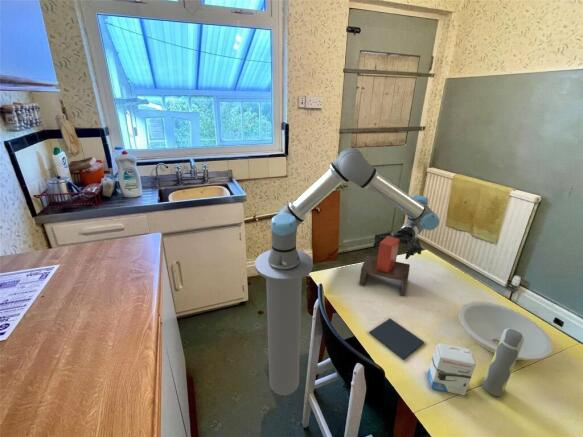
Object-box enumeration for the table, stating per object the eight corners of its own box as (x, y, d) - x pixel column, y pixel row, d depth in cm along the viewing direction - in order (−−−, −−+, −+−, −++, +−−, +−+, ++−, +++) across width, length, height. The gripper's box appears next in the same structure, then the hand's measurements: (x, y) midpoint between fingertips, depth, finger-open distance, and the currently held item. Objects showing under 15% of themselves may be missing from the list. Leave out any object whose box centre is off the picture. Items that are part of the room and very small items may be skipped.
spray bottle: (505, 389, 77) (529, 332, 69) (500, 401, 74) (525, 343, 66) (484, 377, 80) (505, 321, 72) (479, 388, 77) (500, 331, 69)
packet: (376, 268, 117) (379, 242, 112) (383, 260, 123) (387, 235, 118) (387, 272, 114) (392, 246, 110) (395, 264, 120) (399, 239, 115)
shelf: (359, 284, 120) (361, 268, 117) (364, 270, 130) (366, 255, 127) (404, 296, 113) (408, 279, 110) (406, 280, 123) (409, 264, 120)
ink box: (430, 389, 77) (439, 357, 72) (427, 373, 81) (435, 342, 77) (465, 396, 75) (477, 364, 70) (460, 379, 79) (470, 348, 75)
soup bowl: (448, 310, 105) (452, 296, 103) (523, 324, 99) (529, 309, 97) (465, 364, 84) (470, 347, 82) (562, 385, 78) (571, 368, 76)
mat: (369, 333, 95) (369, 331, 95) (389, 319, 101) (390, 318, 101) (403, 360, 85) (403, 358, 85) (423, 343, 91) (424, 341, 91)
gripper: (434, 249, 127) (419, 269, 112) (380, 233, 141) (361, 249, 126) (437, 234, 124) (423, 252, 109) (382, 219, 138) (363, 234, 123)
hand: (390, 250), depth 117 cm, fingers open, 13 cm apart
